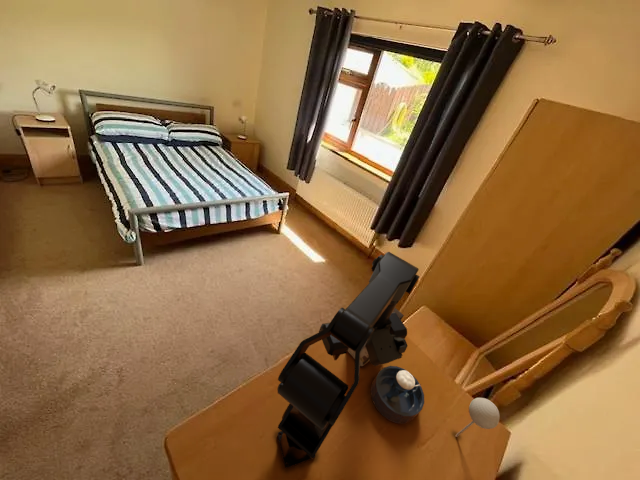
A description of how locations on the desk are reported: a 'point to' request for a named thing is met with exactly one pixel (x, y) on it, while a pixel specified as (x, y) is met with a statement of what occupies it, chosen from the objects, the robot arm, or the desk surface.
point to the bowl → (405, 406)
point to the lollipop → (482, 414)
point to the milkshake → (401, 386)
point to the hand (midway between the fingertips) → (352, 354)
